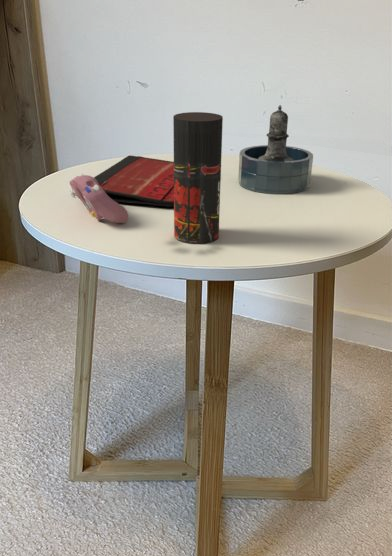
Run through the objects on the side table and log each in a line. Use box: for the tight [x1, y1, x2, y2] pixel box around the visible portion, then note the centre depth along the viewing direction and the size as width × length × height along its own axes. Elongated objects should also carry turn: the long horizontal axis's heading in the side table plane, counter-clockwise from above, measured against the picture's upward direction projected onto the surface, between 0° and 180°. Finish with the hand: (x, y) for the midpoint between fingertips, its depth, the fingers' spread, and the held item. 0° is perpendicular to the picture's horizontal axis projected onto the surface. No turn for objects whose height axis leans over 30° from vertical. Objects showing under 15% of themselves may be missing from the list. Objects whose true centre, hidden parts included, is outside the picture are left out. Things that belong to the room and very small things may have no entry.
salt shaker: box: [258, 104, 294, 161], centre depth 98 cm, size 6×6×12 cm
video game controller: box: [69, 173, 129, 224], centre depth 84 cm, size 10×5×7 cm, turn 27°
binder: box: [93, 155, 174, 208], centre depth 98 cm, size 16×2×21 cm
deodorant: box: [172, 111, 224, 245], centre depth 76 cm, size 6×6×15 cm
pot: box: [237, 144, 314, 195], centre depth 100 cm, size 12×12×5 cm
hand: (338, 0), depth 68 cm, fingers open, 8 cm apart
